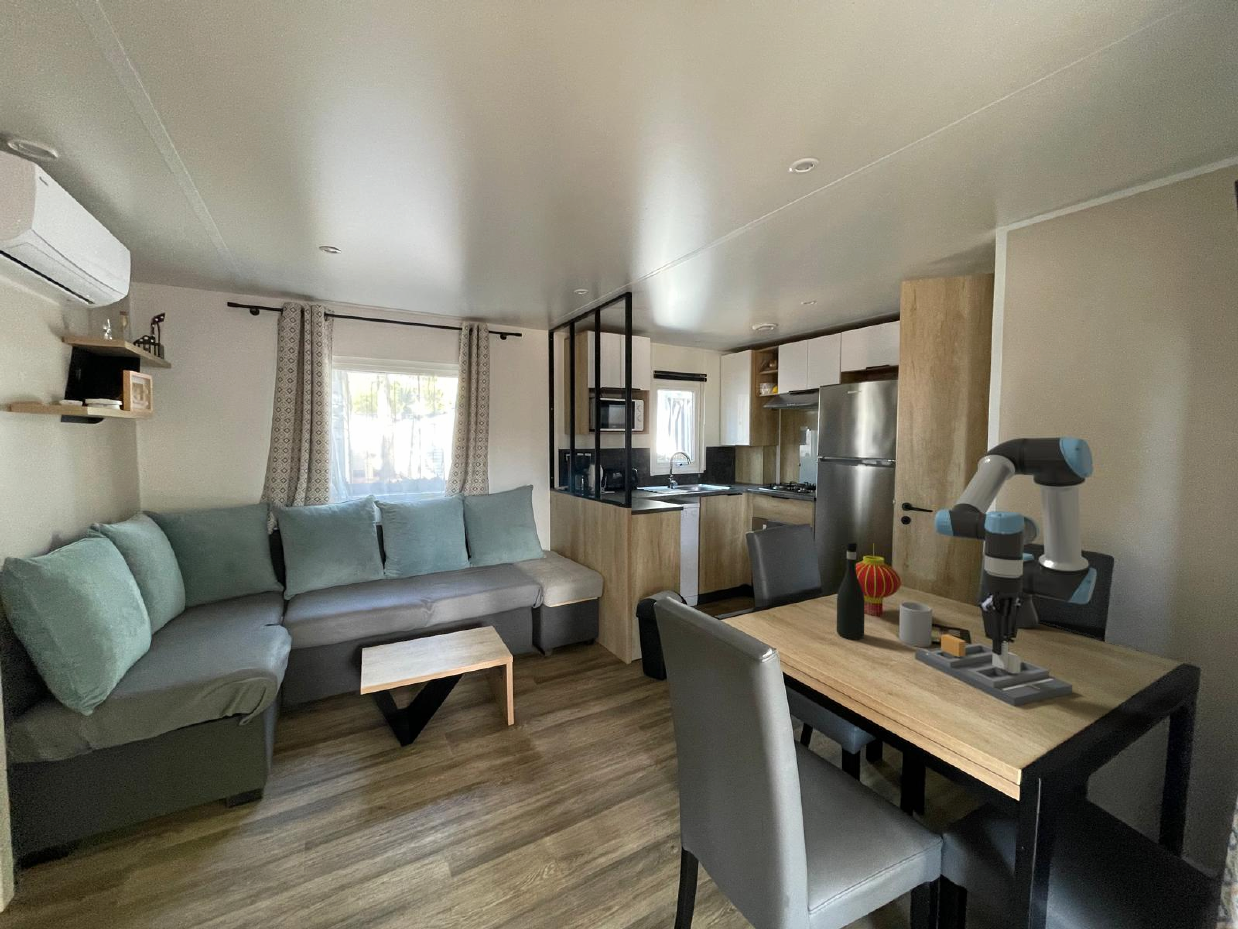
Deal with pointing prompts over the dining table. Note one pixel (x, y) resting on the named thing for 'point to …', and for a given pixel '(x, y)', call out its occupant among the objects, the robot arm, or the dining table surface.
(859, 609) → the wine bottle
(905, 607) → the mug
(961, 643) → the block
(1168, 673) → the dining table surface
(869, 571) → the lantern
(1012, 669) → the fader
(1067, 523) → the robot arm
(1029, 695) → the grey flat slotted tray
